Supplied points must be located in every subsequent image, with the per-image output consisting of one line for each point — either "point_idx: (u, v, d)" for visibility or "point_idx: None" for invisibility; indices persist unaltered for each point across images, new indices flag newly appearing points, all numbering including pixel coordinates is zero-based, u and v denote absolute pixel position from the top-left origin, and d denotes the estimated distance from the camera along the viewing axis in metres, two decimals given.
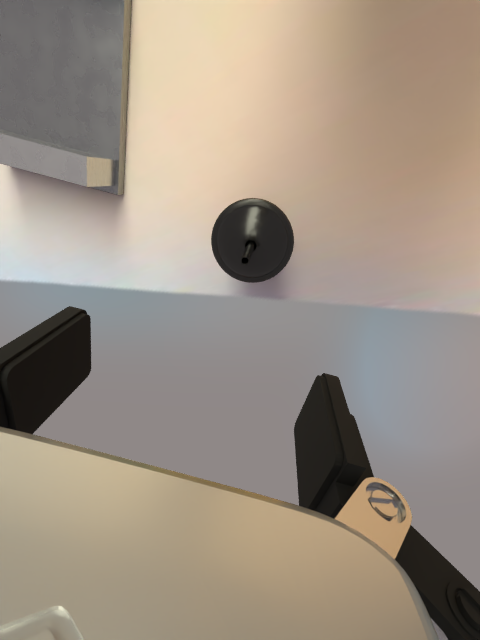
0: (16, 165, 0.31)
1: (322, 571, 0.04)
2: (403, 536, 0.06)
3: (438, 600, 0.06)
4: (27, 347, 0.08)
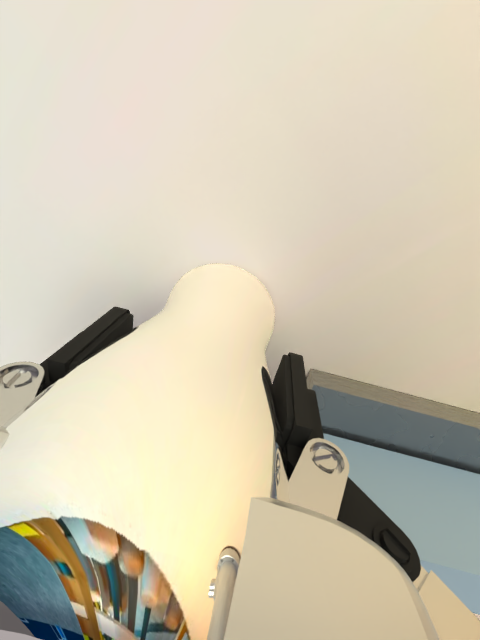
0: None
1: (322, 571, 0.04)
2: (344, 483, 0.07)
3: None
4: (88, 344, 0.09)
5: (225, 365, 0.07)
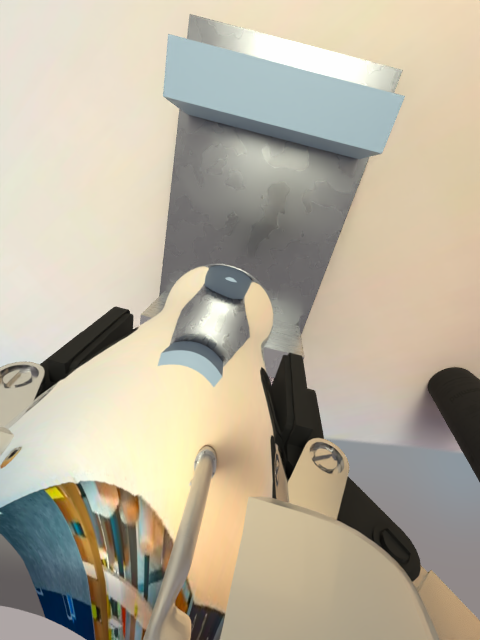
0: None
1: (322, 571, 0.04)
2: (344, 483, 0.07)
3: None
4: (88, 344, 0.09)
5: (225, 366, 0.07)
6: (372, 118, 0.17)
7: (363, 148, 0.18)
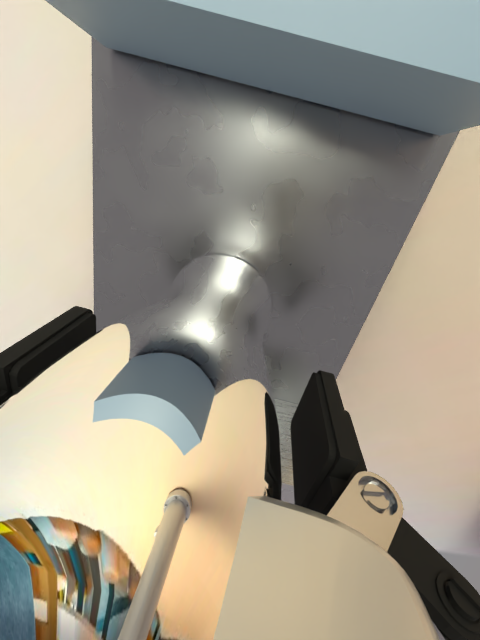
0: None
1: (322, 571, 0.04)
2: (395, 528, 0.06)
3: (428, 591, 0.06)
4: (35, 346, 0.08)
5: (222, 340, 0.07)
6: None
7: None
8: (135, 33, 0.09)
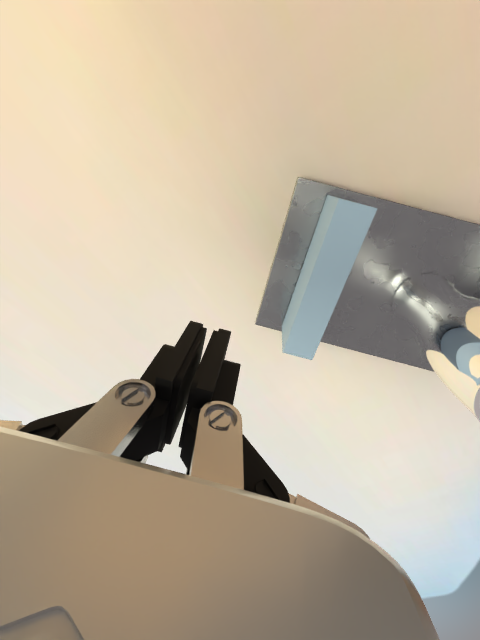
0: None
1: (322, 571, 0.04)
2: (241, 433, 0.08)
3: None
4: (183, 360, 0.09)
5: (441, 321, 0.22)
6: (349, 220, 0.22)
7: (369, 224, 0.22)
8: None
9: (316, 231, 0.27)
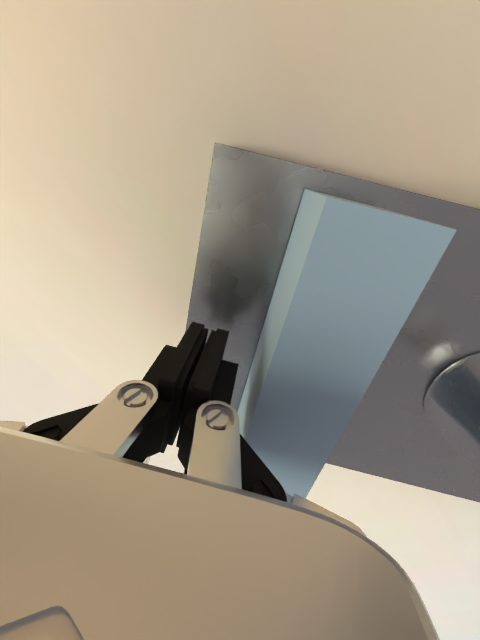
0: None
1: (322, 571, 0.04)
2: (238, 432, 0.08)
3: None
4: (185, 361, 0.09)
5: None
6: (362, 268, 0.07)
7: (426, 278, 0.07)
8: None
9: (281, 272, 0.12)
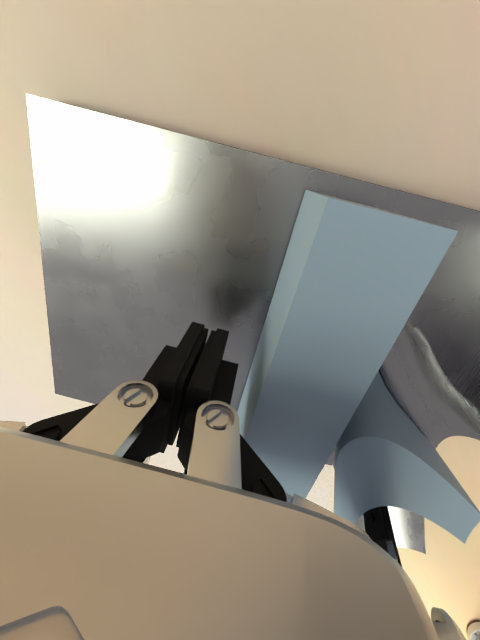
0: None
1: (322, 571, 0.04)
2: (238, 432, 0.08)
3: None
4: (185, 361, 0.09)
5: (366, 520, 0.07)
6: (363, 268, 0.07)
7: (427, 279, 0.07)
8: None
9: (282, 273, 0.12)
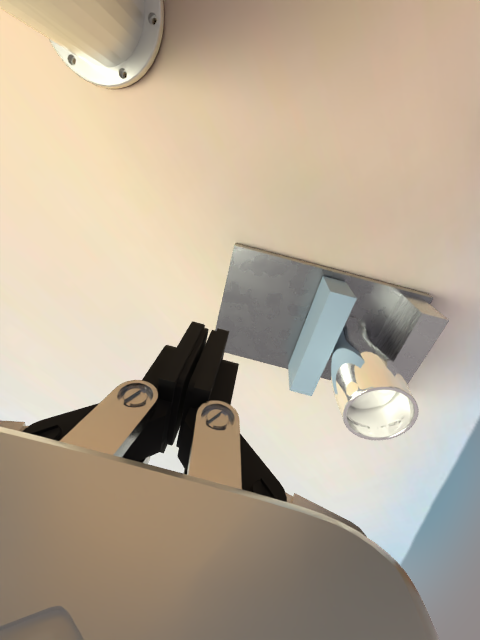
0: (409, 377, 0.34)
1: (322, 571, 0.04)
2: (238, 432, 0.08)
3: None
4: (185, 361, 0.09)
5: (338, 359, 0.31)
6: (337, 305, 0.31)
7: (352, 307, 0.32)
8: None
9: (314, 301, 0.36)
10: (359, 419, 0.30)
